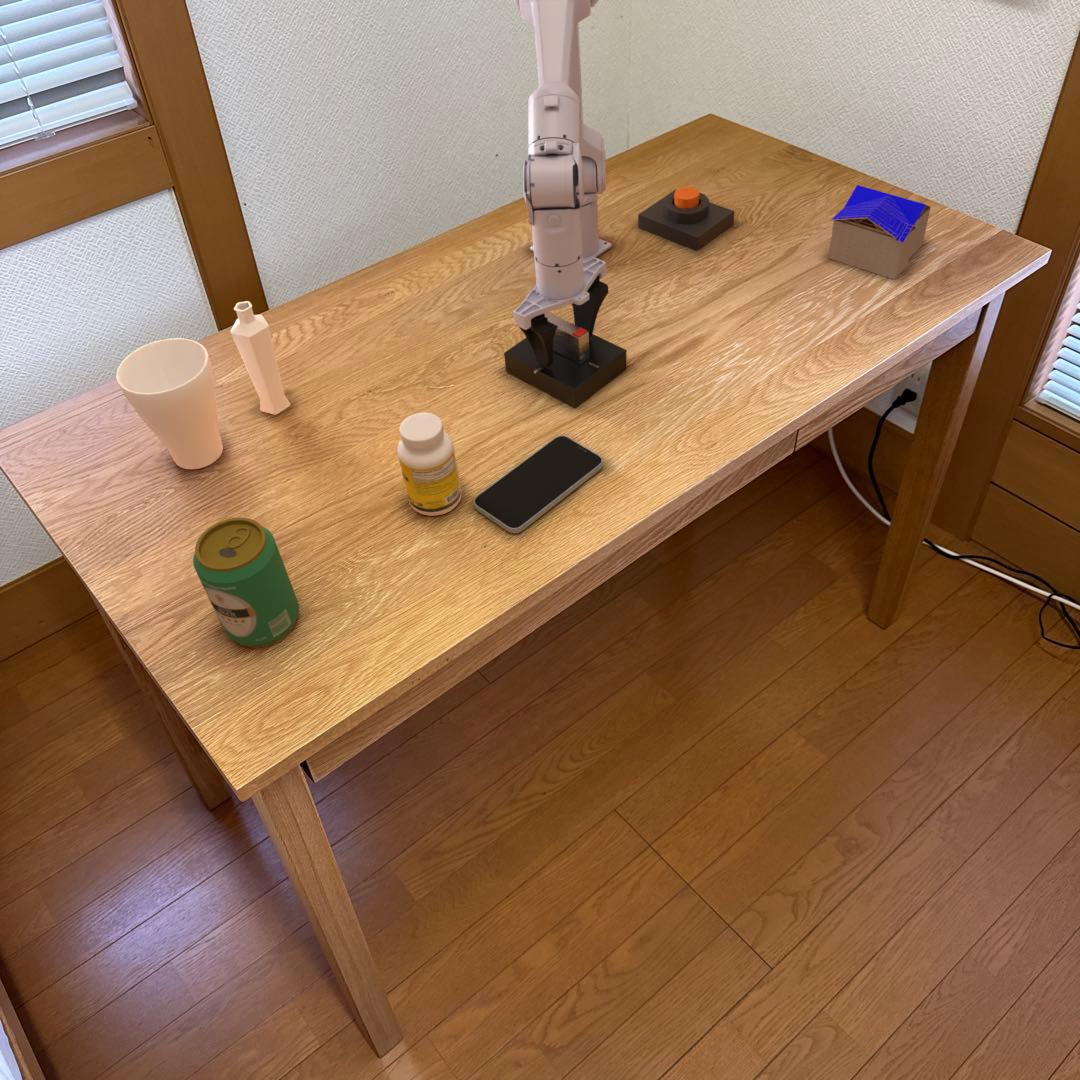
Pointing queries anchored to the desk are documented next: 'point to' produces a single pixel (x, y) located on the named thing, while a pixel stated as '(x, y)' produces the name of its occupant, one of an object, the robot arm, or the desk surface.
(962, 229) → the desk surface
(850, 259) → the house
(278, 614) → the beverage can
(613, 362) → the panel
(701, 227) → the button block
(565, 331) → the tap handle
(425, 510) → the pill bottle
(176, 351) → the cup
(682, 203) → the button
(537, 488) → the smartphone
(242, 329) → the perfume bottle
